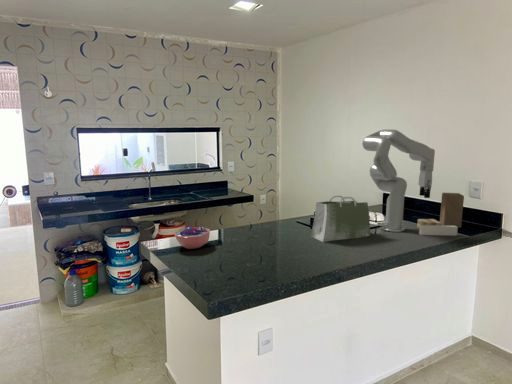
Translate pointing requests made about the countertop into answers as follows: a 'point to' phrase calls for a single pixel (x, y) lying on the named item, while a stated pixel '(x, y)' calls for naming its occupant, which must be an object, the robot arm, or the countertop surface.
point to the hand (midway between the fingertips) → (424, 196)
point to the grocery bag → (340, 220)
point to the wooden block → (451, 209)
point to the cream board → (438, 230)
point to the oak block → (428, 222)
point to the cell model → (192, 237)
